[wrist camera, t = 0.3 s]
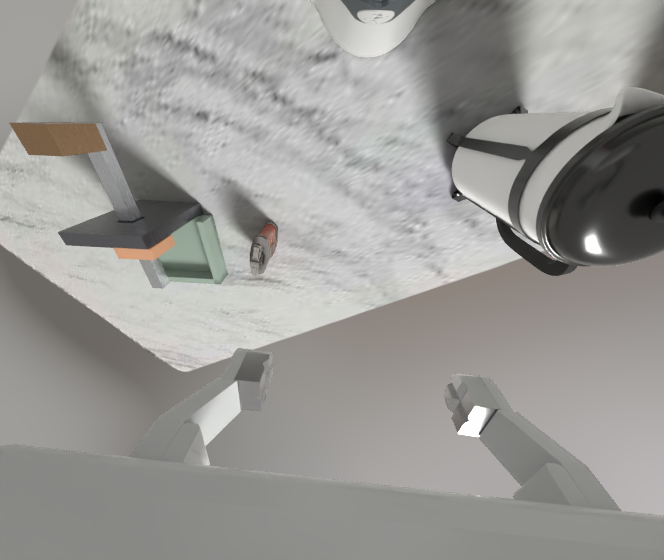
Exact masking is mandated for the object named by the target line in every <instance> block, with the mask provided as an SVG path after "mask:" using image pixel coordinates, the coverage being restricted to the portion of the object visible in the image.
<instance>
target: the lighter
mask: <svg viewBox="0 0 664 560" xmlns="http://www.w3.org/2000/svg"><path fill="white" fill-rule="evenodd" d="M277 242H278V227H277V225H276V224H275V223H274V222H267V223H266V224H265V225H264V228H263V230H262V231H261V232H260V234H259V235H258V236H256V237H255V238H254V240H253V243H252V246H251V251H250V266H251V274H253V275H257V274H262V273H263V272H264V271H265V269H266V266H267V264H268V261H269V260H270V258H271V257H272V256H273V254H274V252H275V249H276V246H277Z"/></svg>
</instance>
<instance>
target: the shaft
mask: <svg viewBox="0 0 664 560" xmlns="http://www.w3.org/2000/svg"><path fill="white" fill-rule="evenodd" d="M10 125H11V127H12V128H13V130H14V131H15V133H16V135H17V136H18V138H19V140H20V141H21V143H22V145H23V146H24V148H25V149H26V151H27V153H28V154H29V155H47V156H69V155H77V154H84V153H87V154H88V156H89V158H90V160H91V162H92V164H93V166H94V168H95V170H96V172H97V174H98V176H99V178H100V180H101V182H102V184H103V187H104V189H105V191H106V193H107V195H108V197H109V199H110V201H111V203H112V205H113V207H114V209H115V211H116V213H117V215H118V217H119V219H120V221H121V222H122V223H135V222H137V221H139V220H141V219H142V217H141V214H140V212H139V210H138V207H137V205H136V203H135V200H134V198H133V196H132V193H131V191H130V189H129V186H128V184H127V182H126V179H125V177H124V175H123V172H122V170H121V168H120V165H119V163H118V161H117V158H116V156H115V154H114V152H113V149H112V147H111V145H110V142H109V140H108V138H107V135H106V133H105V131H104V128H103V126H102V124H101V123H88V122H82V123H70V122H42V123H10ZM139 261H140V263H141V265H142V267H143V269H144V271H145V273H146V275H147V277H148V279H149V281H150V283H151V285H152V287H153V288H164V287H165V286H166V285H167V284H168V283H170V282H169V280H168V277H167V275H166V273H165V270H164V268H163V266H162V263H161V261H160V259H159V257H158V258H157V259H155V260H140V259H139Z"/></svg>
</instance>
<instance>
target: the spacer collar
mask: <svg viewBox="0 0 664 560" xmlns="http://www.w3.org/2000/svg"><path fill="white" fill-rule="evenodd" d="M174 245H176V244H175V242H174V239H173V236H172V235H169V236H167V237H166V238H164V239H163V240H161V241H159V242H158V243H156V244H155V245H153V246H152V247H150V248H149V249H128V248H114V250H115V252H116V254H117V256H118V257H119V258H122V259H140V260H155V259H157V258H158V257H159V256H161V255H162V254H163V253H165V252H166V251H167V250H169V249H170V248H172V247H173V246H174Z"/></svg>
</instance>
